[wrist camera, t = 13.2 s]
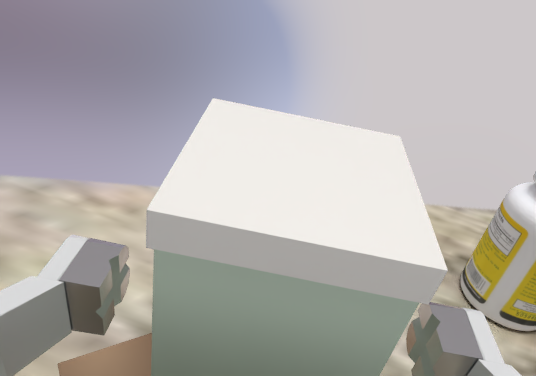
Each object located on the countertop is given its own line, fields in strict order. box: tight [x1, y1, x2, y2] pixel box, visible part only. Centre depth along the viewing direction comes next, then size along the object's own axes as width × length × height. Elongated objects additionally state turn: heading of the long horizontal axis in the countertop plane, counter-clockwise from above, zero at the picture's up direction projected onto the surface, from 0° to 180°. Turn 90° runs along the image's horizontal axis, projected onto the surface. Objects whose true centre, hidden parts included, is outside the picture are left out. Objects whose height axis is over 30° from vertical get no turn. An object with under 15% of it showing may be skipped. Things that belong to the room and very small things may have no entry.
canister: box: [146, 99, 448, 376], centre depth 11 cm, size 5×5×11 cm
